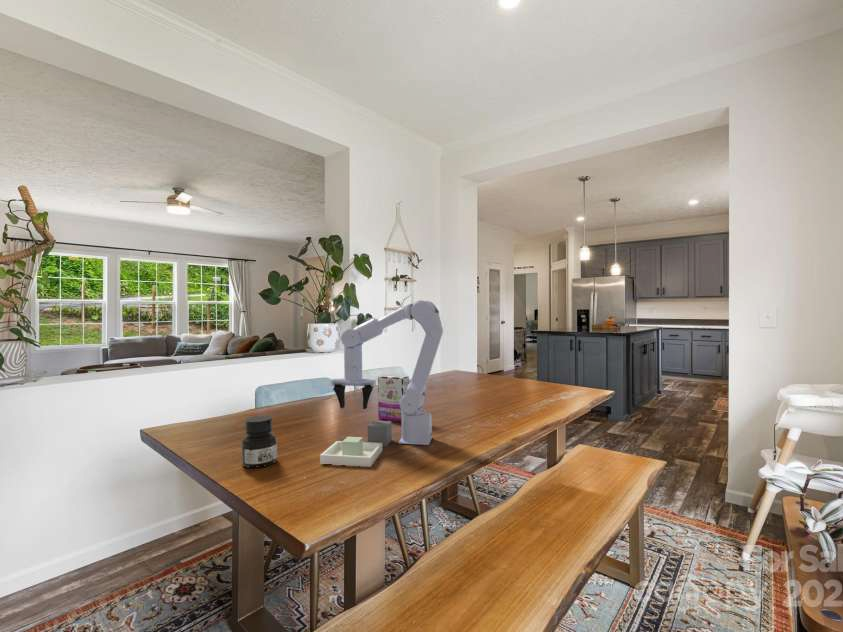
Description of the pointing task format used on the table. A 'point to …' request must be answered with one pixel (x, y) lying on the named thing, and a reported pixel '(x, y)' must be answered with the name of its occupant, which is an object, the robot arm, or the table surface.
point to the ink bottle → (259, 442)
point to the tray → (365, 460)
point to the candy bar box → (391, 396)
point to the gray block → (380, 432)
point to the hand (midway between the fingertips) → (353, 408)
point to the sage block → (352, 446)
